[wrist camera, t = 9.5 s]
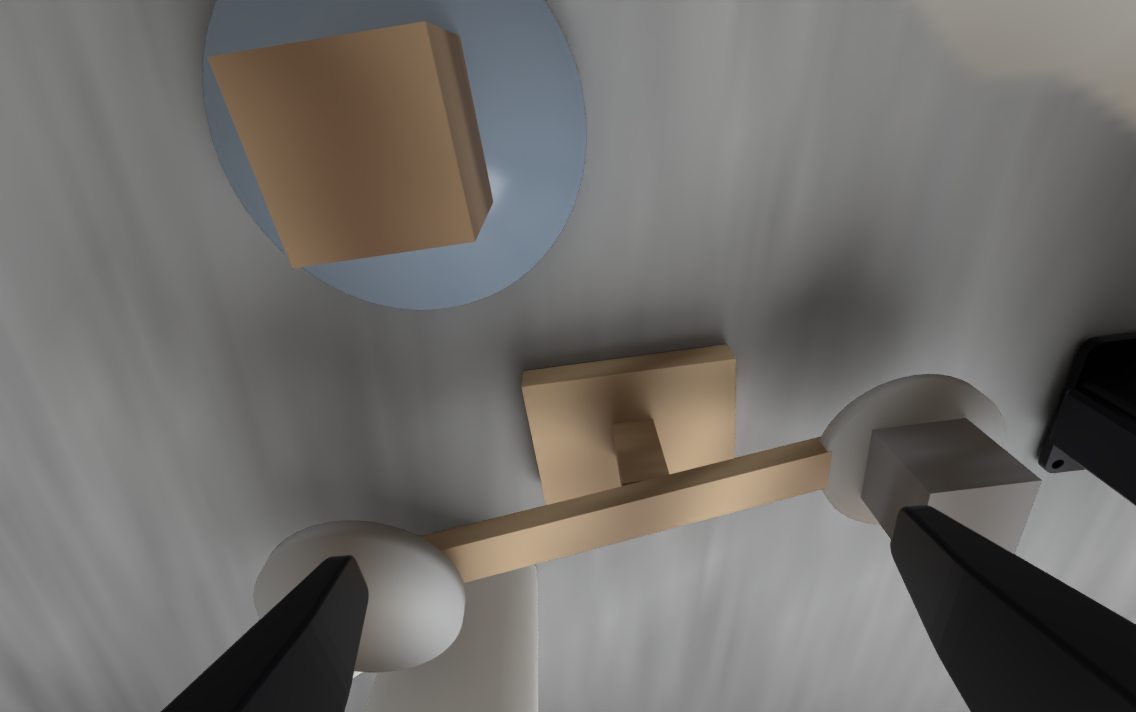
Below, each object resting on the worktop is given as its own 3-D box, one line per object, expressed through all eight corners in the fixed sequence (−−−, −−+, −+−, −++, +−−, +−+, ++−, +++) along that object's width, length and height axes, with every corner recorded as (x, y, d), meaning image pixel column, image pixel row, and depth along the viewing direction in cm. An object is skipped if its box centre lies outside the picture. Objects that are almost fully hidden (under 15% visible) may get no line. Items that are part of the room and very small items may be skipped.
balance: (936, 316, 20) (1133, 439, 13) (910, 441, 23) (1062, 596, 16) (325, 397, 21) (217, 551, 14) (371, 508, 24) (299, 681, 17)
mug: (535, 519, 25) (524, 856, 14) (550, 613, 28) (549, 947, 17) (321, 537, 25) (148, 883, 14) (359, 628, 28) (242, 968, 17)
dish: (557, -121, 14) (558, -138, 13) (601, 274, 19) (604, 286, 18) (156, -53, 14) (124, -64, 13) (305, 315, 19) (291, 329, 18)
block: (459, 36, 14) (425, 20, 10) (493, 201, 17) (474, 241, 13) (300, 61, 15) (207, 57, 11) (354, 222, 17) (292, 268, 13)
